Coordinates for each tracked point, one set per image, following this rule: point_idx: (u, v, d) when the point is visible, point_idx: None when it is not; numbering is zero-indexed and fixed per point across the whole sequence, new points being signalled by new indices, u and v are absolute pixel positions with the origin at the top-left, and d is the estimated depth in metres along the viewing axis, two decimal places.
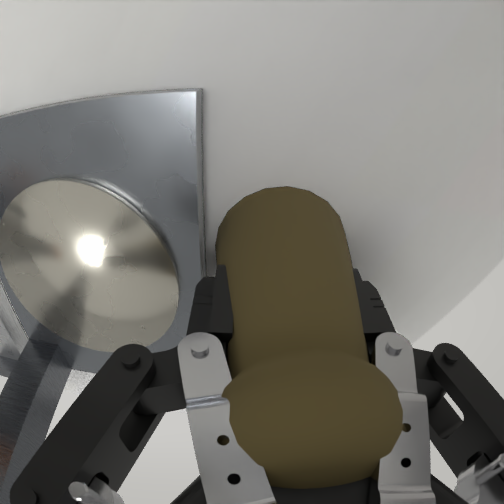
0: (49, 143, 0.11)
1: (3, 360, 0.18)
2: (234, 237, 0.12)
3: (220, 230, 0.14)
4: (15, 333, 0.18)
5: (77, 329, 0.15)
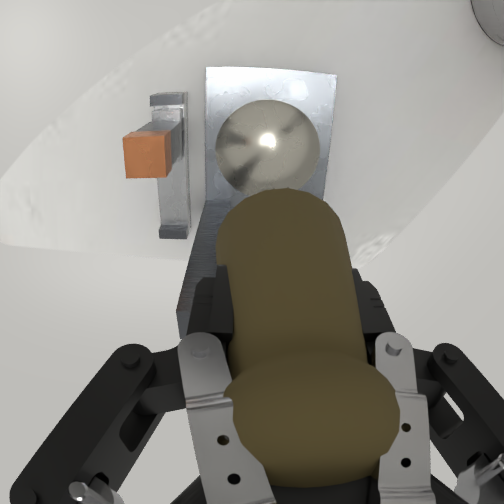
0: (270, 83, 0.27)
1: (167, 226, 0.34)
2: (234, 238, 0.12)
3: (221, 231, 0.14)
4: (188, 202, 0.34)
5: (254, 183, 0.32)
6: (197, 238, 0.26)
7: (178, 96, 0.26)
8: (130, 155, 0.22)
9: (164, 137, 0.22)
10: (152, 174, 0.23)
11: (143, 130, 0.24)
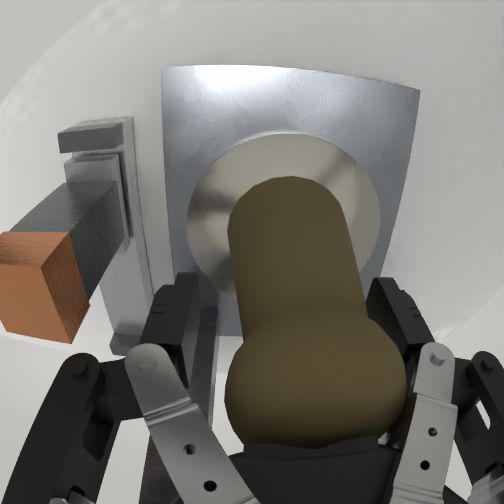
0: (294, 100, 0.13)
1: (122, 337, 0.21)
2: (245, 220, 0.14)
3: (232, 216, 0.15)
4: (150, 303, 0.20)
5: None
6: None
7: (107, 132, 0.13)
8: None
9: (43, 268, 0.08)
10: (45, 334, 0.09)
11: (29, 222, 0.10)
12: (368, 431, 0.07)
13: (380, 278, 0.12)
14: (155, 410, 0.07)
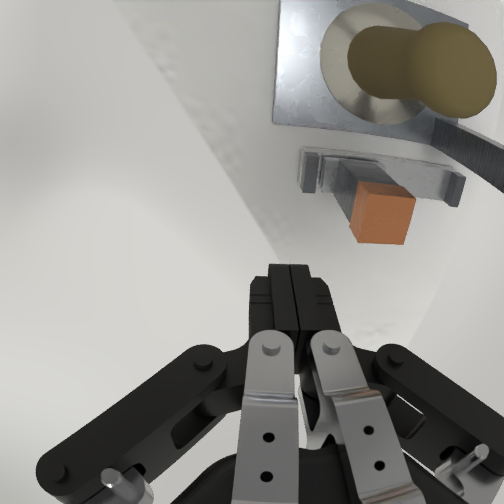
0: (299, 50, 0.20)
1: (447, 195, 0.26)
2: (371, 86, 0.19)
3: (370, 93, 0.21)
4: (427, 164, 0.25)
5: None
6: (484, 175, 0.17)
7: (308, 159, 0.23)
8: (380, 236, 0.19)
9: (370, 193, 0.17)
10: (408, 214, 0.18)
11: (349, 210, 0.21)
12: (464, 49, 0.10)
13: (293, 265, 0.12)
14: (257, 392, 0.07)
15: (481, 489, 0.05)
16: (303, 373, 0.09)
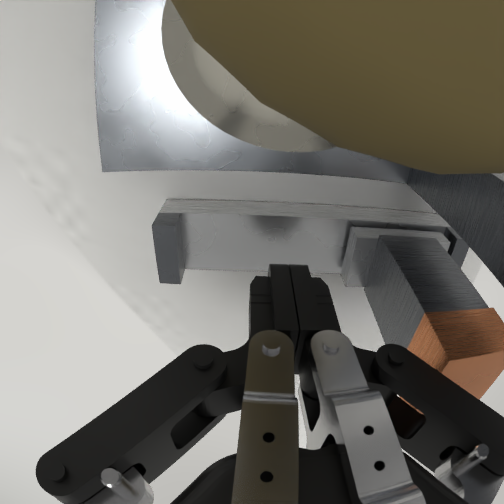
0: (127, 35, 0.10)
1: None
2: None
3: None
4: (401, 217, 0.15)
5: None
6: None
7: (157, 231, 0.13)
8: None
9: (451, 356, 0.07)
10: (499, 370, 0.08)
11: None
12: None
13: (293, 265, 0.12)
14: (257, 392, 0.07)
15: (481, 489, 0.05)
16: (303, 373, 0.09)
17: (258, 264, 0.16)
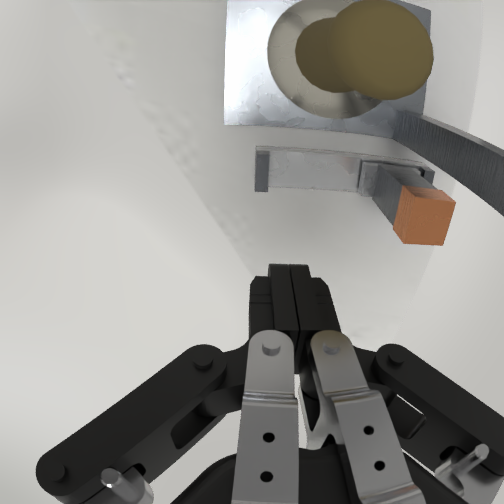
0: (246, 50, 0.20)
1: None
2: (316, 79, 0.19)
3: (320, 88, 0.21)
4: (391, 160, 0.25)
5: None
6: (440, 164, 0.17)
7: (258, 158, 0.24)
8: (423, 237, 0.19)
9: (416, 196, 0.18)
10: (448, 216, 0.18)
11: (391, 213, 0.21)
12: (384, 22, 0.10)
13: (293, 265, 0.12)
14: (257, 392, 0.07)
15: (481, 489, 0.05)
16: (303, 373, 0.09)
17: (311, 184, 0.26)
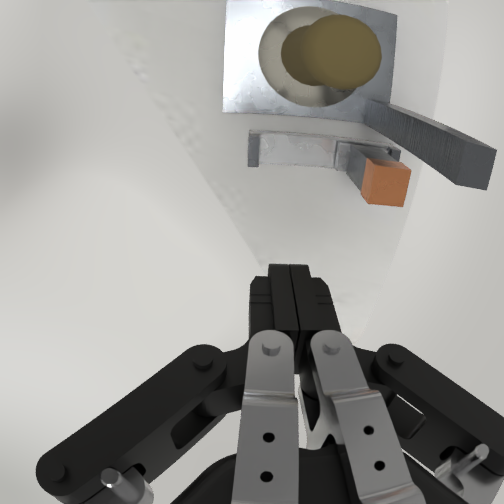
0: (241, 52, 0.25)
1: None
2: (297, 75, 0.24)
3: (301, 82, 0.26)
4: (363, 141, 0.30)
5: None
6: (395, 140, 0.22)
7: (251, 139, 0.28)
8: (385, 199, 0.24)
9: (376, 165, 0.23)
10: (405, 182, 0.23)
11: (359, 182, 0.26)
12: (341, 33, 0.15)
13: (293, 265, 0.12)
14: (257, 392, 0.07)
15: (481, 489, 0.05)
16: (303, 373, 0.09)
17: (294, 161, 0.31)
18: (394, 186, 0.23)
